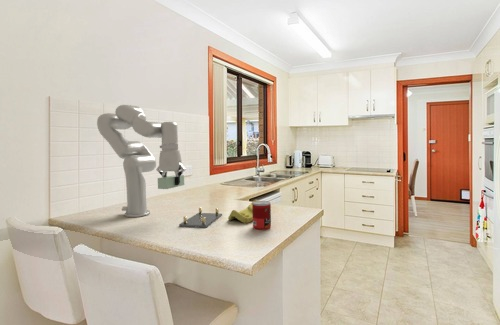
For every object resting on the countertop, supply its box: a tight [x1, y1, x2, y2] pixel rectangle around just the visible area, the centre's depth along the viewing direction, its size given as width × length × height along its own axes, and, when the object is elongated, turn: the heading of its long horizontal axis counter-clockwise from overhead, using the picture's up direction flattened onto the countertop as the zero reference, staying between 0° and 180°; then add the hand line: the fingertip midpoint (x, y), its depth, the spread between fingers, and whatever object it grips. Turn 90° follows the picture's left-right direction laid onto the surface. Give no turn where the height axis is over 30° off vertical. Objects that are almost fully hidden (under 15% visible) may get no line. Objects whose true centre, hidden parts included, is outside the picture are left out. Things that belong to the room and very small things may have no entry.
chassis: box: [178, 207, 223, 229], centre depth 141 cm, size 13×22×4 cm, turn 167°
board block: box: [157, 174, 185, 190], centre depth 144 cm, size 5×14×5 cm, turn 158°
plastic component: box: [227, 199, 259, 224], centre depth 145 cm, size 20×7×10 cm
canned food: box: [251, 200, 272, 231], centre depth 128 cm, size 8×8×11 cm
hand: (171, 184), depth 144 cm, fingers closed on board block, 5 cm apart
